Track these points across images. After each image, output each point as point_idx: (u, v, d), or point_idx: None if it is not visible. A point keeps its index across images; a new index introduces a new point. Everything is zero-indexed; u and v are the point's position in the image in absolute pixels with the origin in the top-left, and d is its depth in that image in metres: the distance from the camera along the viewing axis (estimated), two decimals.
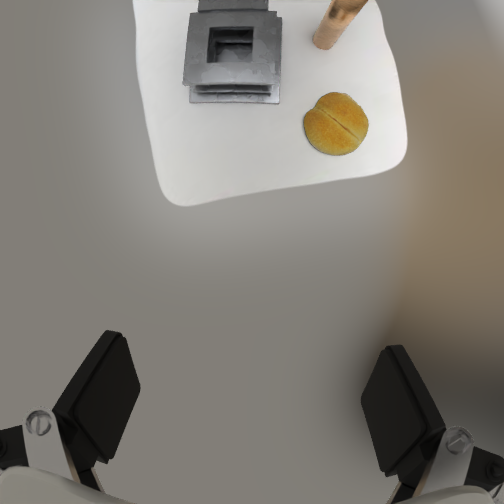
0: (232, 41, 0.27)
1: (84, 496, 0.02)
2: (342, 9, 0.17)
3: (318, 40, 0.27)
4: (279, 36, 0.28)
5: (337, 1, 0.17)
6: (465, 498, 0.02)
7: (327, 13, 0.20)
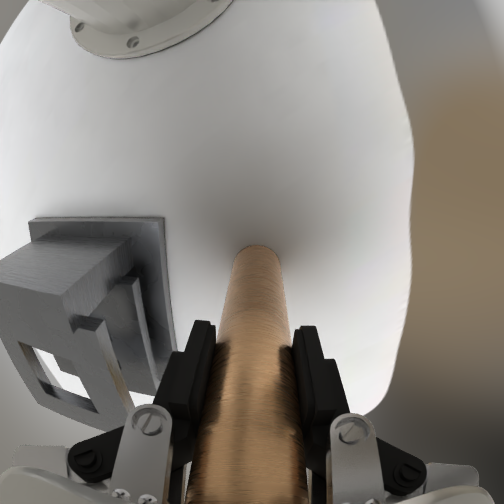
0: None
1: (84, 496, 0.02)
2: None
3: None
4: (158, 275, 0.17)
5: None
6: (465, 498, 0.02)
7: None
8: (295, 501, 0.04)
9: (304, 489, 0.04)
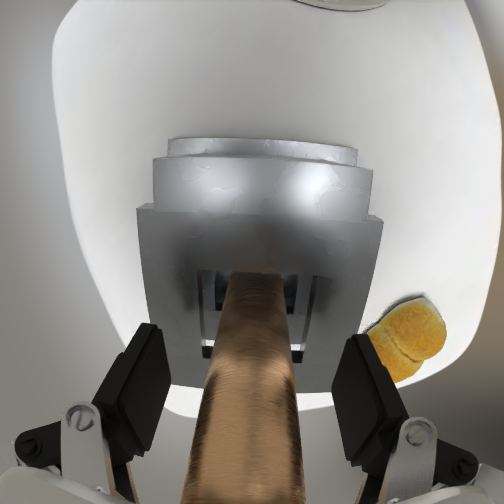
0: None
1: (84, 496, 0.02)
2: None
3: None
4: None
5: None
6: (465, 498, 0.02)
7: None
8: (290, 466, 0.05)
9: (298, 457, 0.05)
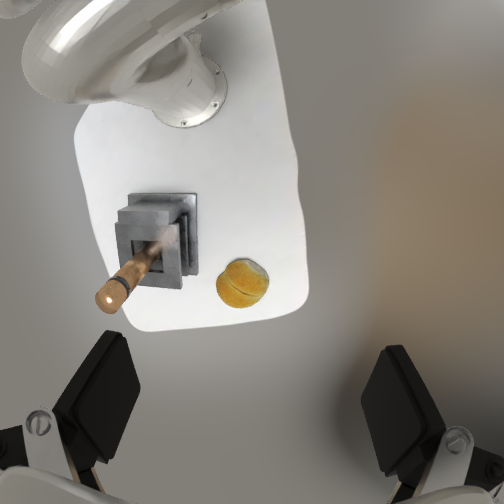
0: None
1: (84, 496, 0.02)
2: None
3: None
4: (193, 216, 0.43)
5: None
6: (465, 498, 0.02)
7: None
8: (132, 272, 0.31)
9: (135, 273, 0.32)
